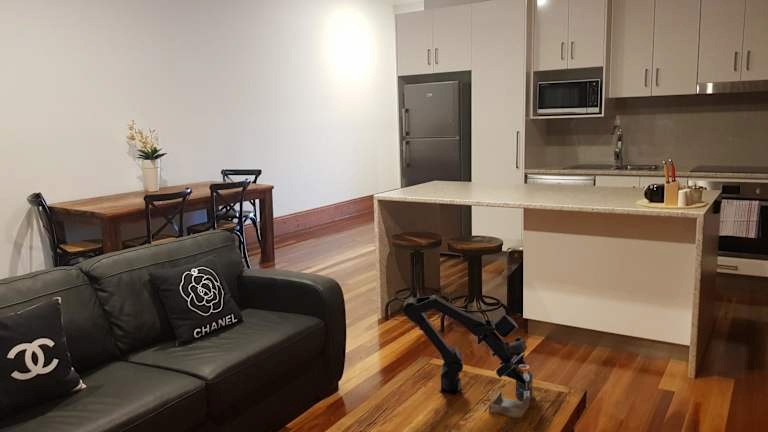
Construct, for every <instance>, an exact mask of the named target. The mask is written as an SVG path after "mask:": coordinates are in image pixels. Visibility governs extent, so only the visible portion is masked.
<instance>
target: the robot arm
mask: <svg viewBox="0 0 768 432" xmlns="http://www.w3.org/2000/svg"><path fill="white" fill-rule="evenodd" d="M402 308H403V309H402V312H403V315H404V316H405V317H406V318H407V319H408V320H410V321H411V322H412V323H414V324H416V325H417V326H418V327H419V329H420V330H421V331H422V333H423V334H424V335H425V336H426V338H427V339H428V340H429V341H430V343H431V344H432V345H433V346H434V348H436V350H437V351H438V353H439V354H440V356H441V358H442V360H443V363H442V364H441V373H440V389H439V390H438V391H439V393H444V394H450V395H454V396H455V395H456V394H458V392H460V390H461V389H462V388H463V387H462V379H461V378H460V373H461V372H462V371H463V369H464V360H463V353H462V352H460V351H459V349H458V348H457V345H456V346H454V347H451V346H450V345H449V344H448V343H447V341H446V340H445V339H444V338H443V336H442V335H441V334H440V332H439V331H438V330H437V329H436V328H435V326H434V325H433V324H432V322H431V321H430V320H429V319H428V317H427V315H426V312H428V311H431V310H436V312H439V313H441V314H443V315H445V316H447V317H448V318H450V319H452V320H454V321H456V322H457V323H459V324H461V325H462V326H463V327H464V328H465V329H466V330H467V331H468V332H469V333H471V334H472V335H473V336H475V337H476V338H477V345H481V343H484V344H485V346H487V348H488V349H489V350H490V351H491V352H492V354H491V356H492V357H496V358H497V359H498V360H499V361H500V363H499V364H500V365H499V366H498V367H497V369H496V370H495V373H496V376H498V377H499V379H500V378H502V377H507V378H509V379H513V380H515V381H516V380H517V381H519V382H521V383H523V384H525V383H526V380H525V379H524V378H523V376H522V375H521V373H520V372H519V371H518V366H519V365H527V363H526V361H525V356H526V353H525V352H526V351H527V349H528V347H527V345H526V344H527V341H526V340H525V339H524V338H523V337H522V336H517V337H515V340H514V342H512V343H510V341H505V340H503V339H502V338H507V337H509V336H510V335H511V334H512V333H513V332H514V331H516V330H517V328H519V326H518V323H516V322H515V320H514V319H513V318H512V317H510V316H509V315H507V314H506V313H502V315H500V317H499V318H498V319H497V320H496V321H495V320H492V319H491V320H490V319H485V318H484V317H482V316H480V315H477V314H474V313H468V312H465V311H464V310H462V309H460V308H459V307H457V306H455V305H453V304H451V303H450V302H447V301H446V300H444V299H442V298H441V297H440V296H438V295H435V294H432V295H428V296H420V297H408V298H406V300H405V301H404V304H403V307H402Z"/></svg>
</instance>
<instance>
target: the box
mask: <svg viewBox="0 0 768 432" xmlns="http://www.w3.org/2000/svg"><path fill="white" fill-rule="evenodd" d="M530 400H531V398H529V396H526V398H525V399H523V401H520V400H515V399H508V398H503V397H502V391H501V390H498V392H497V393H496V394H495V395H494V397H493V398H492V400H491V401H490V402H489V403H488V413H489V414H493V415H499V416H503V417H507V418H512V419H518V420H521V419H522V418H523V416H524V415H525V413H526V411H527V410H528V408H529V406H530Z"/></svg>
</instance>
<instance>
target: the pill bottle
mask: <svg viewBox="0 0 768 432" xmlns="http://www.w3.org/2000/svg"><path fill="white" fill-rule="evenodd" d="M518 371H519V372H520V373H521V375H522V376H523V378H524V379H525V380H526V383H525V384H523V383H521V382H519V381H517V380H515V396H516V397H517V399H519V400H524V399H525V398H526V396H529V398H530V399H532V398H533V397H534V396H533V391H534V390H533V387H534V386H533V372H532V371H531V370H530V365H528V364H526V365H519V366H518Z"/></svg>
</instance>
